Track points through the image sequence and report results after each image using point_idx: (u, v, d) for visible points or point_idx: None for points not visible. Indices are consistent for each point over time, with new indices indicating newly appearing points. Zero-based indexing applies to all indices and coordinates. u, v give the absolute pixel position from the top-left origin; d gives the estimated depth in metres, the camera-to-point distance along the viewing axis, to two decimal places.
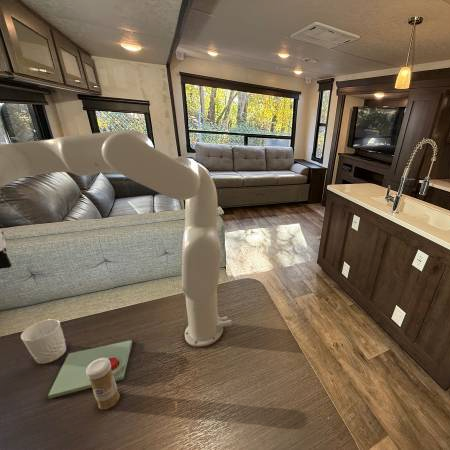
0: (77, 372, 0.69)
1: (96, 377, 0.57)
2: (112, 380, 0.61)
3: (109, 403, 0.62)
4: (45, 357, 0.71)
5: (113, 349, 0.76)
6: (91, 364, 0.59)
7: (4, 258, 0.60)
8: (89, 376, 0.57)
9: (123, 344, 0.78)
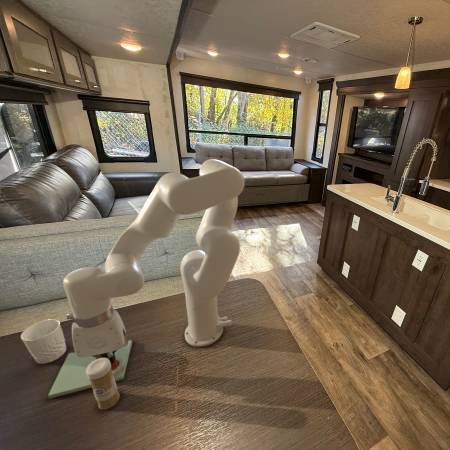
0: (77, 372, 0.69)
1: (96, 377, 0.57)
2: (112, 380, 0.61)
3: (109, 403, 0.62)
4: (45, 357, 0.71)
5: None
6: (91, 364, 0.59)
7: None
8: (89, 376, 0.57)
9: None
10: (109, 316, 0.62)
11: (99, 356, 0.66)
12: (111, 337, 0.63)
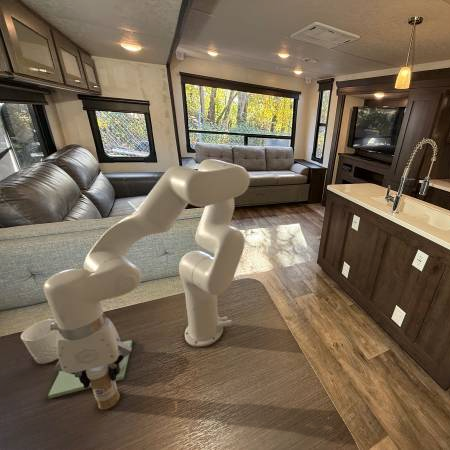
0: None
1: (96, 377, 0.57)
2: None
3: (109, 403, 0.62)
4: (45, 357, 0.71)
5: None
6: None
7: None
8: (89, 376, 0.57)
9: None
10: (100, 325, 0.54)
11: (78, 373, 0.56)
12: (103, 349, 0.55)
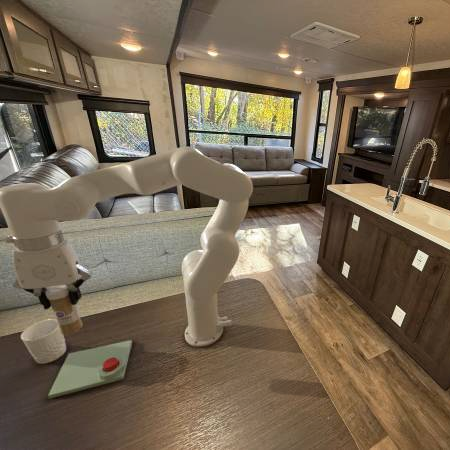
0: (77, 372, 0.69)
1: (55, 297, 0.59)
2: (73, 305, 0.63)
3: (70, 328, 0.64)
4: (45, 357, 0.71)
5: (113, 349, 0.76)
6: (51, 287, 0.61)
7: None
8: (48, 296, 0.59)
9: (123, 344, 0.78)
10: (56, 242, 0.55)
11: (37, 292, 0.58)
12: (60, 267, 0.57)
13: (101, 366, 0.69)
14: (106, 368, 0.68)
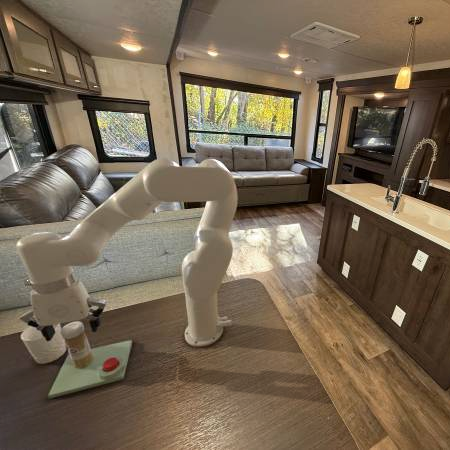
0: (77, 372, 0.69)
1: (69, 336, 0.65)
2: (85, 341, 0.69)
3: (82, 362, 0.70)
4: (45, 357, 0.71)
5: (113, 349, 0.76)
6: (66, 326, 0.67)
7: None
8: (63, 335, 0.65)
9: (123, 344, 0.78)
10: (70, 283, 0.61)
11: (39, 326, 0.62)
12: (73, 305, 0.62)
13: (101, 366, 0.69)
14: (106, 368, 0.68)
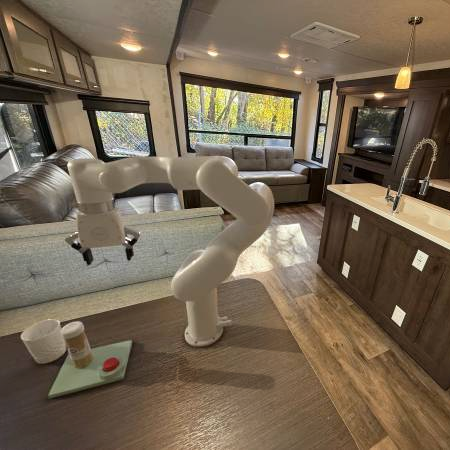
0: (77, 372, 0.69)
1: (69, 336, 0.65)
2: (85, 341, 0.69)
3: (82, 362, 0.70)
4: (45, 357, 0.71)
5: (113, 349, 0.76)
6: (66, 326, 0.67)
7: None
8: (63, 335, 0.65)
9: (123, 344, 0.78)
10: (111, 208, 0.66)
11: (81, 249, 0.68)
12: (113, 230, 0.68)
13: (101, 366, 0.69)
14: (106, 368, 0.68)
